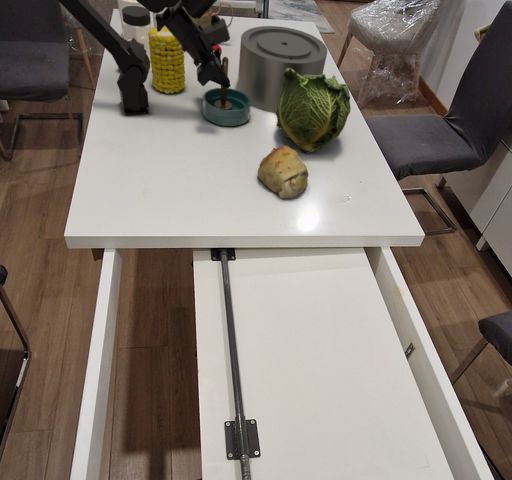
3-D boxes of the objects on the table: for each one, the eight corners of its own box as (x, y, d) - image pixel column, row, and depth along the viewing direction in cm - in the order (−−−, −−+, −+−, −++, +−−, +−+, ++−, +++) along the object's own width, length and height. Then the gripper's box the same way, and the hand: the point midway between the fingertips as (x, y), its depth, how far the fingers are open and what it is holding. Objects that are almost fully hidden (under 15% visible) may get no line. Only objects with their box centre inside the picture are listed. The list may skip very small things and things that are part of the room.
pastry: (259, 162, 108) (263, 131, 101) (307, 170, 108) (314, 140, 102) (253, 195, 100) (257, 163, 93) (305, 203, 100) (313, 173, 94)
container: (245, 113, 122) (250, 61, 111) (231, 73, 135) (233, 23, 124) (326, 114, 127) (338, 64, 116) (304, 75, 140) (313, 28, 130)
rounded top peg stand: (231, 117, 117) (235, 62, 106) (213, 115, 116) (215, 59, 105) (232, 108, 120) (235, 54, 109) (214, 106, 119) (216, 51, 108)
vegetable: (318, 158, 125) (342, 82, 117) (345, 166, 109) (376, 78, 100) (256, 138, 118) (277, 56, 110) (275, 144, 102) (301, 47, 94)
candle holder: (123, 33, 143) (117, -12, 133) (152, 36, 145) (149, -8, 135) (120, 45, 138) (114, -1, 128) (151, 48, 139) (147, 3, 129)
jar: (132, 64, 131) (127, 17, 121) (121, 53, 135) (115, 6, 125) (159, 60, 135) (155, 14, 125) (147, 49, 138) (144, 4, 128)
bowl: (212, 130, 114) (212, 113, 111) (196, 106, 121) (196, 89, 117) (256, 125, 118) (258, 108, 115) (238, 102, 125) (240, 86, 121)
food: (159, 101, 123) (153, 87, 128) (197, 90, 124) (190, 76, 129) (140, 41, 110) (135, 28, 116) (183, 29, 111) (176, 17, 117)
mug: (230, 53, 144) (232, 10, 134) (178, 46, 142) (177, 2, 133) (231, 40, 150) (234, -2, 141) (182, 33, 149) (181, -10, 139)
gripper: (212, 21, 93) (256, 79, 103) (209, -8, 103) (249, 48, 114) (177, 58, 98) (222, 110, 109) (177, 27, 108) (218, 77, 119)
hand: (229, 85), depth 112 cm, fingers closed on rounded top peg stand
